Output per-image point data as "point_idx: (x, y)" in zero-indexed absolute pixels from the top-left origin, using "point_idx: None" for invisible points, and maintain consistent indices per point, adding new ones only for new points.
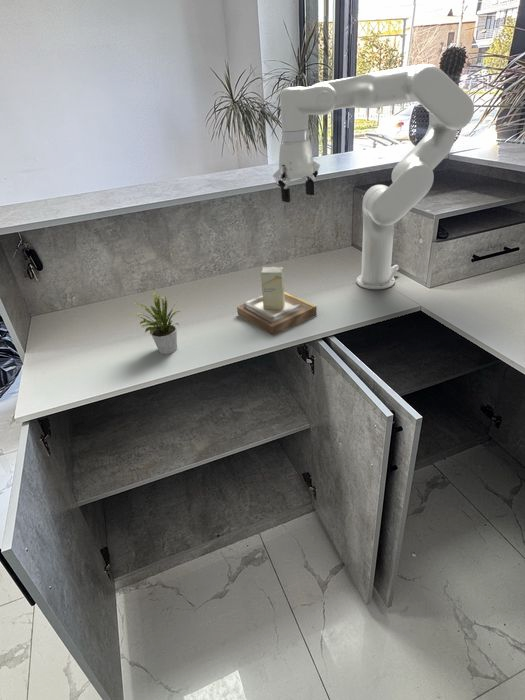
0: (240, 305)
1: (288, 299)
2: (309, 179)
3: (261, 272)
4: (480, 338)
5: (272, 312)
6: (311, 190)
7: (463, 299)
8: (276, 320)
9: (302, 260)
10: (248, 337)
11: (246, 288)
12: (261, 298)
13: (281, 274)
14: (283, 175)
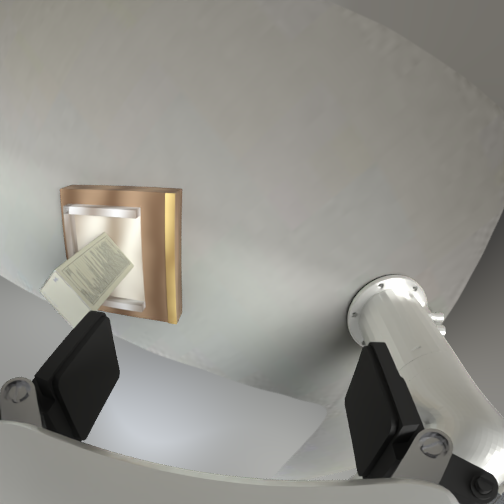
0: (67, 189)
1: (155, 254)
2: (386, 476)
3: (40, 292)
4: (284, 466)
5: None
6: (352, 421)
7: None
8: None
9: (410, 64)
10: (53, 267)
11: (163, 73)
12: (101, 215)
13: None
14: (13, 471)
